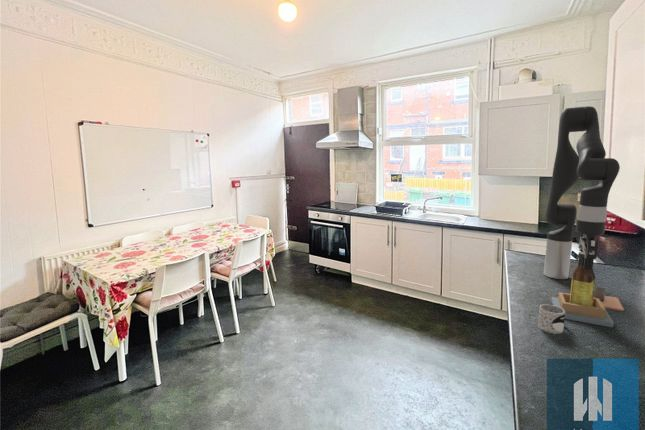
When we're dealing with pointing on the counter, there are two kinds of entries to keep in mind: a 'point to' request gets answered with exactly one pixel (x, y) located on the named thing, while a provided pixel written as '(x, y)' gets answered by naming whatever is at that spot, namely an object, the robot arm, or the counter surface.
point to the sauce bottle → (582, 284)
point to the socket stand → (583, 311)
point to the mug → (551, 319)
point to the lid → (607, 299)
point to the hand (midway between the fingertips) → (585, 265)
